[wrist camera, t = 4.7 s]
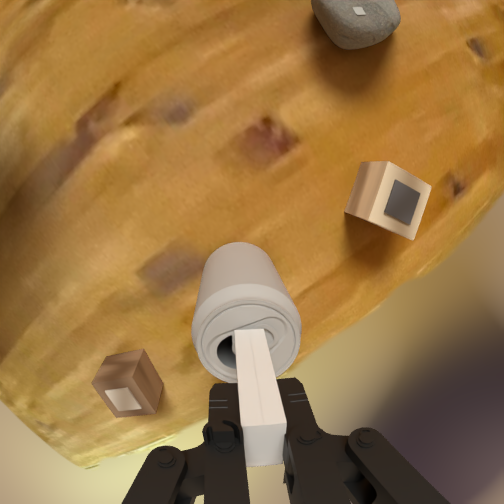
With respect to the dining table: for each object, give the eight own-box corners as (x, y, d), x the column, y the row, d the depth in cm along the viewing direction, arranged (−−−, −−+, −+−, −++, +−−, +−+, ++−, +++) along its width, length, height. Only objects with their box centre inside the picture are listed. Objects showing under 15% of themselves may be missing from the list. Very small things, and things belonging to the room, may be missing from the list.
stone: (411, 39, 21) (433, 15, 13) (347, 68, 26) (344, 52, 18) (364, -21, 19) (365, -60, 11) (301, 8, 24) (281, -24, 15)
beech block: (343, 211, 26) (369, 220, 21) (361, 162, 25) (389, 161, 20) (385, 229, 27) (414, 241, 22) (401, 182, 26) (432, 186, 21)
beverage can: (189, 269, 26) (163, 340, 15) (245, 224, 25) (261, 268, 14) (233, 318, 28) (239, 406, 16) (287, 278, 27) (328, 350, 16)
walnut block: (127, 389, 29) (115, 418, 24) (106, 355, 28) (90, 384, 23) (163, 383, 29) (155, 414, 24) (144, 348, 28) (131, 378, 23)
